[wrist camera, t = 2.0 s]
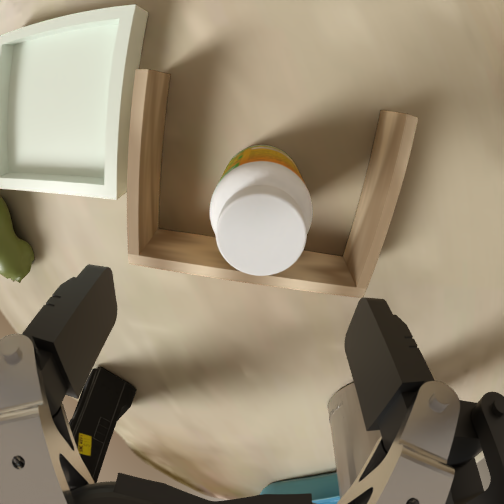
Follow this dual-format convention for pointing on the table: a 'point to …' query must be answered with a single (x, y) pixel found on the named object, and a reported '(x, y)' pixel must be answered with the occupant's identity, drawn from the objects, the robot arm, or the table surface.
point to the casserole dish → (309, 488)
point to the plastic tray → (69, 102)
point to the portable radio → (99, 416)
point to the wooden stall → (205, 247)
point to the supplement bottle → (261, 211)
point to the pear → (12, 249)
